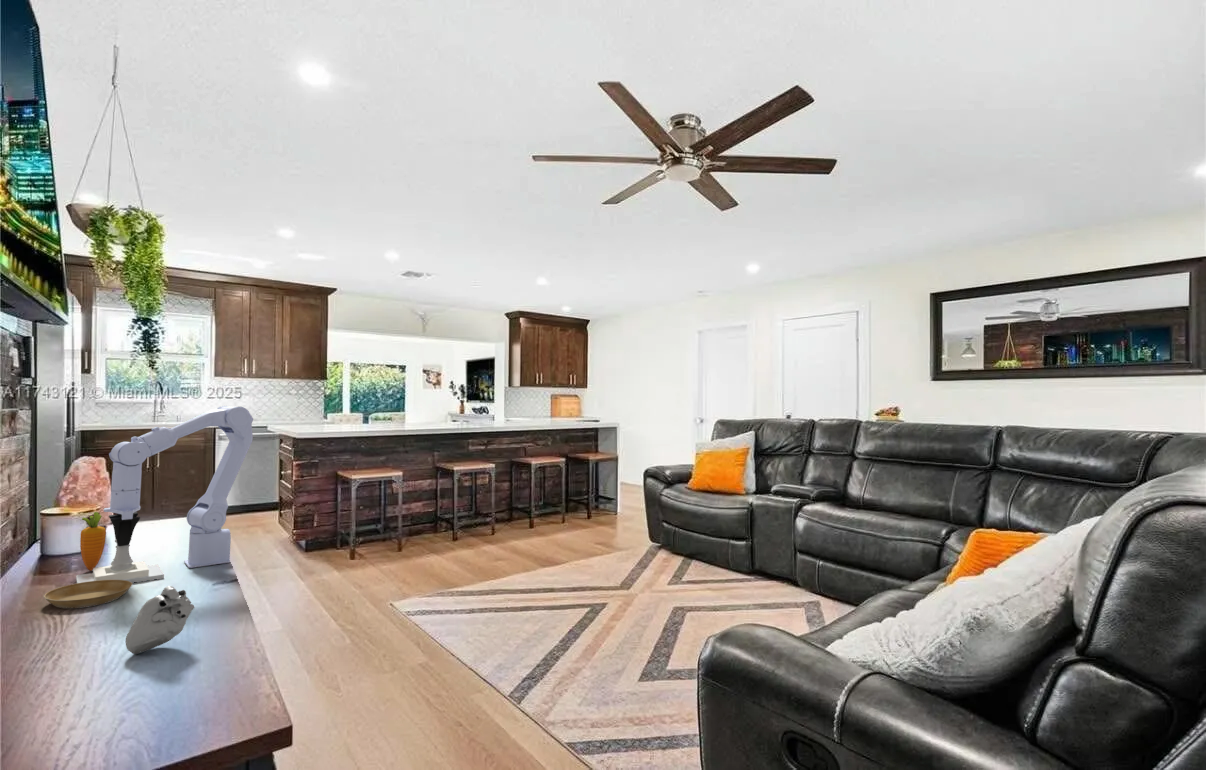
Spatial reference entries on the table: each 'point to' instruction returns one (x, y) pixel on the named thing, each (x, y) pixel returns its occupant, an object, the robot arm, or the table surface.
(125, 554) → the rook chess piece
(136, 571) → the holder stand
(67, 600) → the plant saucer
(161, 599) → the heart
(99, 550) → the carrot
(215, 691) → the table surface
